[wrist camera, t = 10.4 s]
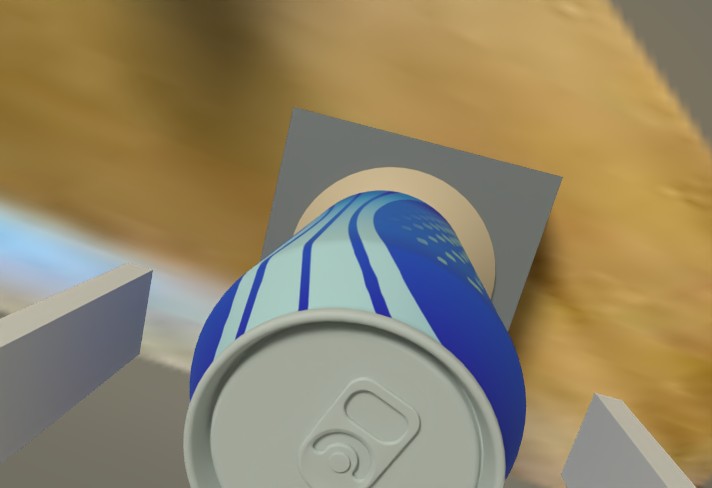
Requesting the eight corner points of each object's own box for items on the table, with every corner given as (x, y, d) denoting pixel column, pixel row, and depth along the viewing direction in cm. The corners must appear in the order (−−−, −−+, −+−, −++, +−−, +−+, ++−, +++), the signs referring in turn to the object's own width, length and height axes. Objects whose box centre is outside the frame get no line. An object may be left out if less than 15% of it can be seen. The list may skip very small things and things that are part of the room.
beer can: (478, 323, 25) (592, 615, 10) (328, 354, 26) (212, 655, 11) (442, 169, 24) (505, 215, 8) (285, 210, 25) (81, 317, 9)
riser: (266, 319, 32) (239, 352, 27) (313, 113, 29) (292, 106, 24) (466, 377, 31) (477, 422, 26) (536, 171, 28) (564, 177, 23)
